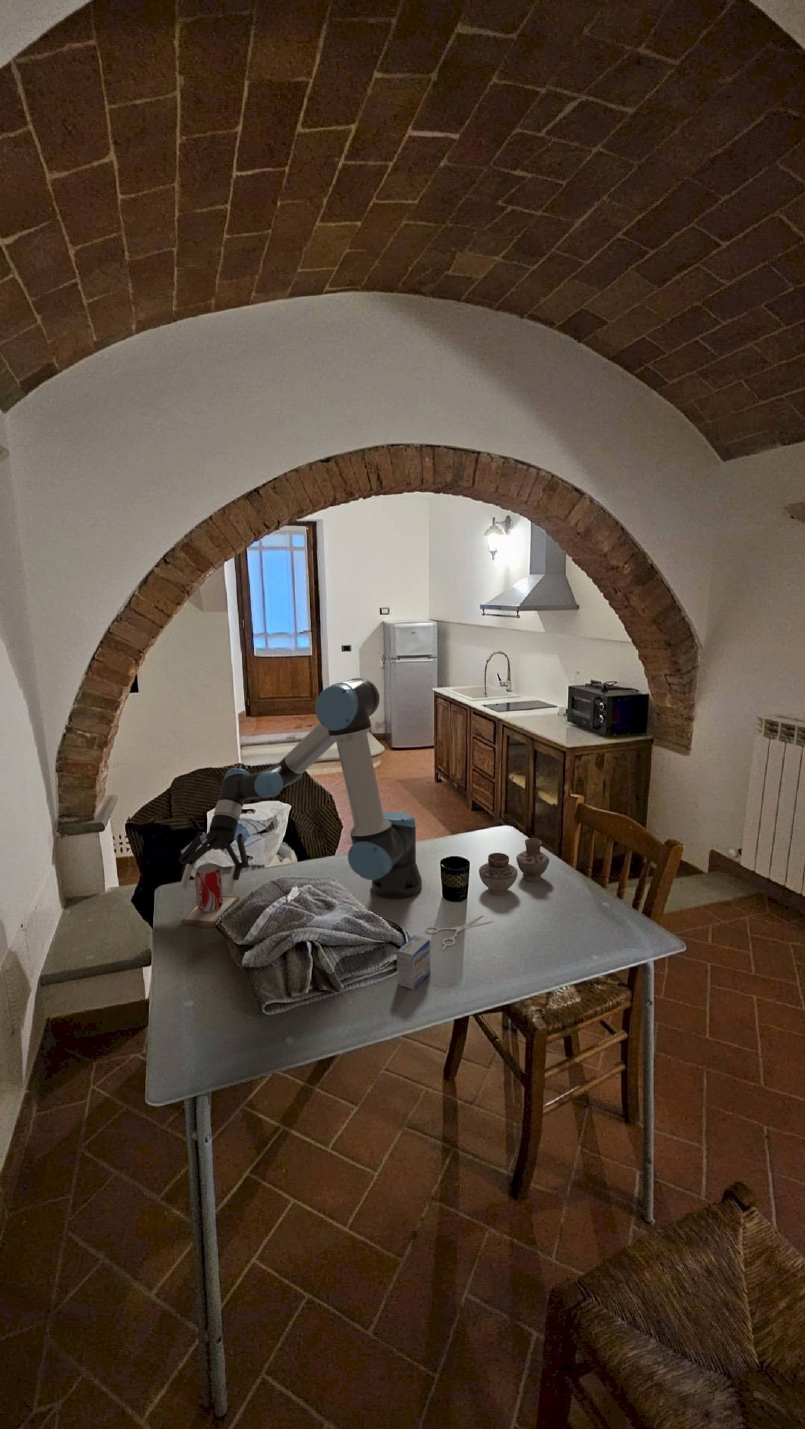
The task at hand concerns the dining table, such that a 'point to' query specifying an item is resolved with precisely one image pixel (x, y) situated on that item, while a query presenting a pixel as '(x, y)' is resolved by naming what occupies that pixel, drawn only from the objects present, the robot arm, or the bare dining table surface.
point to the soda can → (208, 888)
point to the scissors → (458, 929)
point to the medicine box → (413, 962)
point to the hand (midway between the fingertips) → (205, 889)
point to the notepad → (208, 914)
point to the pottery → (504, 875)
